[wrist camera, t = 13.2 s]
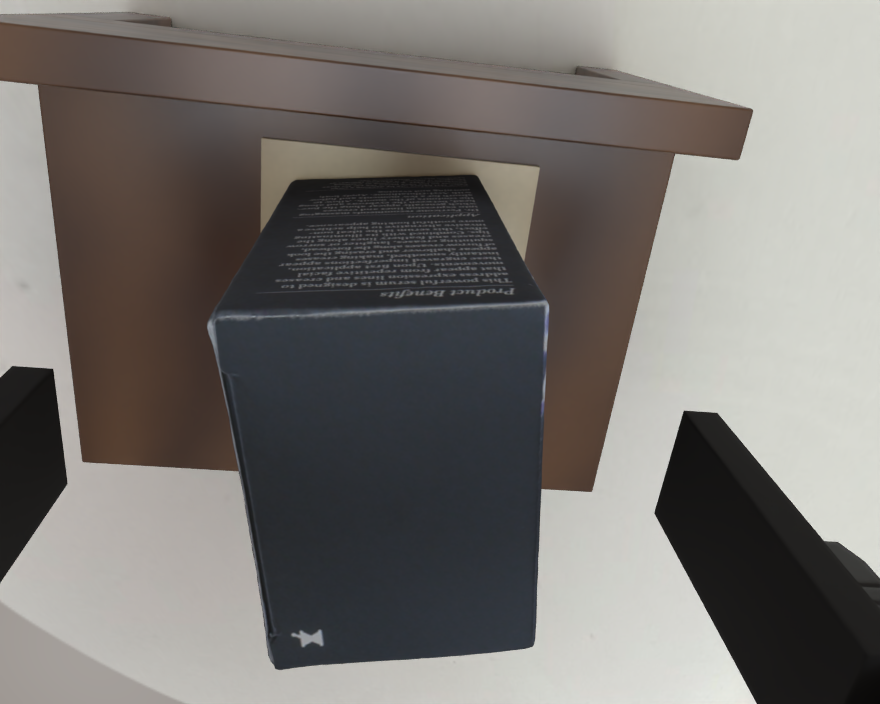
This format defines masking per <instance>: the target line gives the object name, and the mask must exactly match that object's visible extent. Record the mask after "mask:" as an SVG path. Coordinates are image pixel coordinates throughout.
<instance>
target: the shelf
mask: <svg viewBox="0 0 880 704" xmlns="http://www.w3.org/2000/svg"><path fill="white" fill-rule="evenodd" d="M0 81H8V82H17V83H26V84H35V85H38V90H39V99H40V107H41V116H42V124H43V132H44V141H45V149H46V158H47V166H48V175H49V183H50V192H51V200H52V209H53V217H54V226H55V234H56V242H57V251H58V259H59V268H60V276H61V285H62V293H63V302H64V310H65V319H66V327H67V336H68V344H69V352H70V361H71V369H72V378H73V386H74V395H75V403H76V412H77V420H78V429H79V437H80V445H81V454H82V461H83V462H90V463H107V464H124V465H141V466H158V467H175V468H192V469H209V470H226V471H239V470H238V465H237V460H236V455H235V451H234V446H233V440H232V434H231V429H230V422H229V415H228V411H227V407H226V402H225V397H224V393H223V388H222V383H221V379H220V374H219V369H218V365H217V361H216V357H215V353H214V349H213V345H212V342H211V339H210V337H209V333H208V329H207V322H208V320H209V318H210V316H211V314H212V312H213V310H214V308H215V307H216V305H217V304H218V302H219V301H220V300H221V298H222V296H223V294H224V293H225V291H226V290H227V288H228V286H229V285H230V283H231V280H232V279H233V277H234V276H235V275H236V273H237V272H238V270H239V268H240V267H241V265H242V263H243V261H244V260H245V258H246V257H247V255H248V254H249V252H250V251H251V249H252V247H253V245H254V243H255V242H256V240H257V239H258V237H259V235H260V234H261V232H262V230H263V229H264V227H265V225H266V223H267V222H268V221H269V219H270V217H271V215H272V214H273V212H274V210H275V209H276V207H277V205H278V203H279V202H280V200H281V199H282V197H283V195H284V193H285V192H286V190H287V188H288V186H289V185H290V183H291V182H293V181H295V180H308V179H345V178H382V177H419V176H455V175H476V176H478V177H479V179H480V181H481V183H482V185H483V186H484V188H485V190H486V191H487V193H488V195H489V197H490V199H491V201H492V202H493V204H494V206H495V209H496V210H497V212H498V214H499V216H500V218H501V220H502V222H503V223H504V225H505V227H506V229H507V231H508V232H509V234H510V236H511V238H512V240H513V242H514V244H515V246H516V248H517V250H518V251H519V253H520V255H521V257H522V259H523V261H524V262H525V264H526V266H527V268H528V270H529V272H530V273H531V275H532V276H533V278H534V280H535V282H536V284H537V286H538V287H539V289H540V291H541V292H542V294H543V295H544V297H545V298H546V300H547V302H548V304H549V324H548V340H547V358H546V384H545V402H544V435H543V457H542V487H541V489H551V490H568V491H585V492H592V490H593V486H594V481H595V477H596V473H597V469H598V465H599V461H600V457H601V453H602V449H603V445H604V441H605V437H606V433H607V429H608V425H609V420H610V416H611V412H612V408H613V404H614V400H615V396H616V392H617V388H618V384H619V380H620V376H621V372H622V368H623V364H624V359H625V355H626V351H627V347H628V343H629V339H630V335H631V331H632V327H633V323H634V319H635V315H636V311H637V307H638V303H639V298H640V294H641V290H642V286H643V282H644V278H645V274H646V270H647V266H648V262H649V258H650V254H651V250H652V246H653V242H654V237H655V233H656V229H657V225H658V221H659V217H660V213H661V209H662V205H663V201H664V197H665V193H666V189H667V185H668V181H669V176H670V172H671V168H672V164H673V160H674V156H675V154H683V155H693V156H702V157H711V158H721V159H730V160H739V159H740V156H741V152H742V149H743V145H744V142H745V138H746V135H747V131H748V127H749V124H750V120H751V117H752V113H753V110H752V109H751V108H747V107H744V106H740V105H736V104H733V103H729V102H726V101H722V100H719V99H715V98H712V97H708V96H705V95H701V94H698V93H694V92H691V91H687V90H683V89H680V88H676V87H673V86H670V85H666V84H663V83H659V82H656V81H652V80H649V79H645V78H642V77H638V76H635V75H631V74H628V73H624V72H621V71H617V70H609V69H601V68H592V67H584V66H577V69H576V74H575V75H573V74H564V73H556V72H547V71H539V70H530V69H522V68H513V67H505V66H496V65H488V64H479V63H471V62H462V61H454V60H445V59H437V58H428V57H420V56H411V55H403V54H394V53H386V52H377V51H369V50H360V49H352V48H343V47H335V46H326V45H318V44H309V43H301V42H292V41H284V40H275V39H267V38H258V37H250V36H241V35H233V34H224V33H216V32H207V31H199V30H190V29H182V28H173V27H172V24H171V18H170V17H163V16H155V15H146V14H138V13H130V12H109V13H57V14H0Z"/></svg>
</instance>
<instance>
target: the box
mask: <svg viewBox="0 0 880 704" xmlns="http://www.w3.org/2000/svg"><path fill="white" fill-rule="evenodd" d="M548 324H549V304H548V302H547V300H546V298H545V297H544V295H543V294H542V292H541V291H540V289H539V287H538V286H537V284H536V282H535V280H534V278H533V276H532V275H531V273H530V272H529V270H528V268H527V266H526V264H525V262H524V261H523V259H522V257H521V255H520V253H519V251H518V250H517V248H516V246H515V244H514V242H513V240H512V238H511V236H510V234H509V232H508V231H507V229H506V227H505V225H504V223H503V222H502V220H501V218H500V216H499V214H498V212H497V210H496V209H495V206H494V204H493V202H492V201H491V199H490V197H489V195H488V193H487V191H486V190H485V188H484V186H483V185H482V183H481V181H480V179H479V177H478V176H476V175H455V176H419V177H382V178H345V179H308V180H295V181H293V182H291V183H290V185H289V186H288V188H287V190H286V192H285V193H284V195H283V197H282V199H281V200H280V202H279V203H278V205H277V207H276V209H275V210H274V212H273V214H272V215H271V217H270V219H269V221H268V222H267V223H266V225H265V227H264V229H263V230H262V232H261V234H260V235H259V237H258V239H257V240H256V242H255V243H254V245H253V247H252V249H251V251H250V252H249V254H248V255H247V257H246V258H245V260H244V261H243V263H242V265H241V267H240V268H239V270H238V272H237V273H236V275H235V276H234V277H233V279H232V280H231V283H230V285H229V286H228V288H227V290H226V291H225V293H224V294H223V296H222V298H221V300H220V301H219V302H218V304H217V305H216V307H215V308H214V310H213V312H212V314H211V316H210V318H209V320H208V322H207V329H208V333H209V337H210V339H211V342H212V345H213V349H214V353H215V357H216V361H217V365H218V369H219V374H220V379H221V383H222V388H223V393H224V397H225V402H226V407H227V411H228V415H229V422H230V429H231V434H232V440H233V446H234V451H235V455H236V460H237V465H238V470H239V474H240V479H241V484H242V490H243V495H244V501H245V509H246V514H247V520H248V526H249V532H250V537H251V543H252V551H253V556H254V560H255V565H256V571H257V580H258V586H259V592H260V598H261V605H262V611H263V618H264V626H265V631H266V641H267V648H268V656H269V658H270V660H271V662H272V663H273V664H274V666H275V669H278V670H283V669H290V668H297V667H305V666H314V665H329V664H343V663H356V662H372V661H388V660H408V659H419V658H436V657H448V656H463V655H471V654H482V653H493V652H501V651H510V650H518V649H525V648H529V647H532V646H533V645H534V642H535V631H536V610H537V578H538V553H539V529H540V505H541V487H542V457H543V435H544V402H545V384H546V358H547V340H548Z"/></svg>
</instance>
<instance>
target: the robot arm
mask: <svg viewBox="0 0 880 704" xmlns="http://www.w3.org/2000/svg"><path fill="white" fill-rule="evenodd" d="M67 484H68V483H67V475H66V467H65V459H64V451H63V443H62V435H61V427H60V419H59V411H58V403H57V395H56V387H55V379H54V371H53V369H47V368H32V367H17V366H12V367H11V368H10V369H9V370H8V371H7V372H6V373H5V374H4V375H3V376H2V377H0V582H1V581H2V579H3V578H4V576H5V575H6V574H7V572H8V571H9V569H10V568H11V566H12V565H13V563H14V562H15V560H16V559H17V557H18V556H19V554H20V553H21V551H22V550H23V549H24V547H25V546H26V544H27V543H28V541H29V540H30V538H31V537H32V535H33V534H34V532H35V531H36V529H37V528H38V526H39V525H40V523H41V522H42V521H43V519H44V518H45V516H46V515H47V513H48V512H49V510H50V509H51V507H52V506H53V504H54V503H55V501H56V500H57V498H58V497H59V496H60V494H61V493H62V491H63V490H64V488H65V487H66V485H67ZM655 515H656V517H657V519H658V521H659V523H660V525H661V526H662V528H663V530H664V532H665V534H666V536H667V538H668V539H669V541H670V543H671V545H672V547H673V549H674V551H675V552H676V554H677V556H678V558H679V560H680V562H681V564H682V565H683V567H684V569H685V571H686V573H687V575H688V577H689V578H690V580H691V582H692V584H693V586H694V588H695V590H696V591H697V593H698V595H699V597H700V599H701V601H702V603H703V604H704V606H705V608H706V610H707V612H708V614H709V616H710V617H711V619H712V621H713V623H714V625H715V627H716V629H717V630H718V632H719V634H720V636H721V638H722V640H723V642H724V643H725V645H726V647H727V649H728V651H729V653H730V655H731V656H732V658H733V660H734V662H735V664H736V666H737V668H738V669H739V671H740V673H741V675H742V677H743V679H744V681H745V682H746V684H747V686H748V688H749V690H750V692H751V694H752V695H753V697H754V699H755V701H756V703H757V704H880V578H879V577H878V576H877V575H876V574H875V573H874V571H873V570H872V569H871V568H870V567H869V566H868V565H867V563H866V562H865V561H863V560H862V559H861V558H859V557H858V556H856V555H855V554H854V553H852V552H851V551H849V550H848V549H847V548H845V547H844V546H843V545H841V544H840V543H838V542H827V541H823V540H822V538H821V537H820V536H819V535H818V534H817V532H816V531H815V530H814V529H813V527H812V526H811V525H810V524H809V523H808V521H807V520H806V519H805V518H804V517H803V515H802V514H801V513H800V512H799V511H798V509H797V508H796V507H795V506H794V505H793V503H792V502H791V501H790V500H789V499H788V497H787V496H786V495H785V494H784V493H783V491H782V490H781V489H780V488H779V487H778V485H777V484H776V483H775V482H774V481H773V479H772V478H771V477H770V476H769V475H768V473H767V472H766V471H765V470H764V469H763V467H762V466H761V465H760V464H759V463H758V461H757V460H756V459H755V458H754V457H753V455H752V454H751V453H750V452H749V451H748V449H747V448H746V447H745V446H744V445H743V443H742V442H741V441H740V440H739V439H738V437H737V436H736V435H735V434H734V433H733V431H732V430H731V429H730V428H729V427H728V425H727V424H726V423H725V422H724V421H723V419H722V418H721V417H720V416H719V415H718V413H710V412H695V411H684V412H683V416H682V419H681V423H680V426H679V430H678V433H677V437H676V440H675V443H674V447H673V450H672V454H671V457H670V461H669V464H668V468H667V471H666V475H665V478H664V481H663V485H662V488H661V492H660V495H659V499H658V502H657V506H656V509H655Z"/></svg>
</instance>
